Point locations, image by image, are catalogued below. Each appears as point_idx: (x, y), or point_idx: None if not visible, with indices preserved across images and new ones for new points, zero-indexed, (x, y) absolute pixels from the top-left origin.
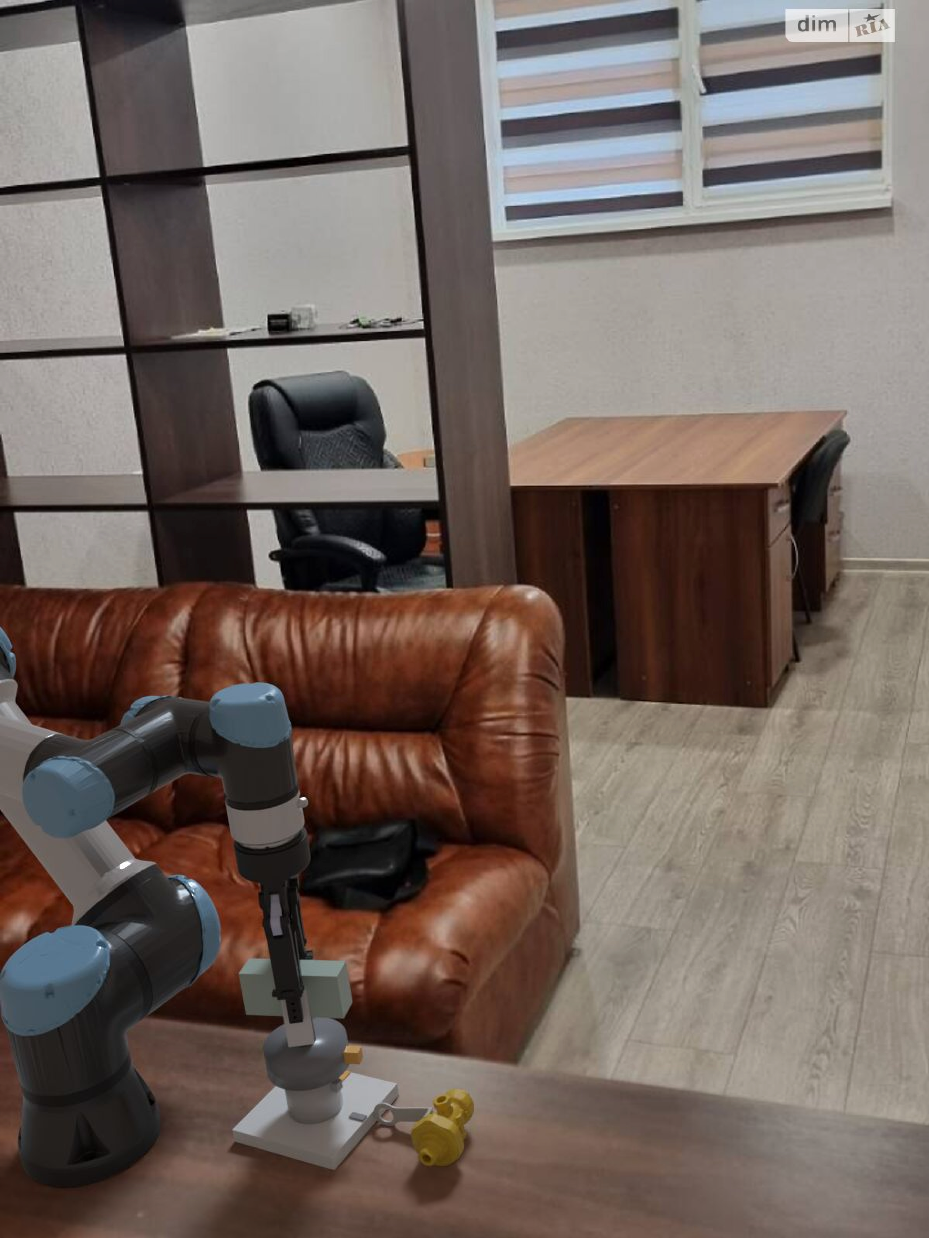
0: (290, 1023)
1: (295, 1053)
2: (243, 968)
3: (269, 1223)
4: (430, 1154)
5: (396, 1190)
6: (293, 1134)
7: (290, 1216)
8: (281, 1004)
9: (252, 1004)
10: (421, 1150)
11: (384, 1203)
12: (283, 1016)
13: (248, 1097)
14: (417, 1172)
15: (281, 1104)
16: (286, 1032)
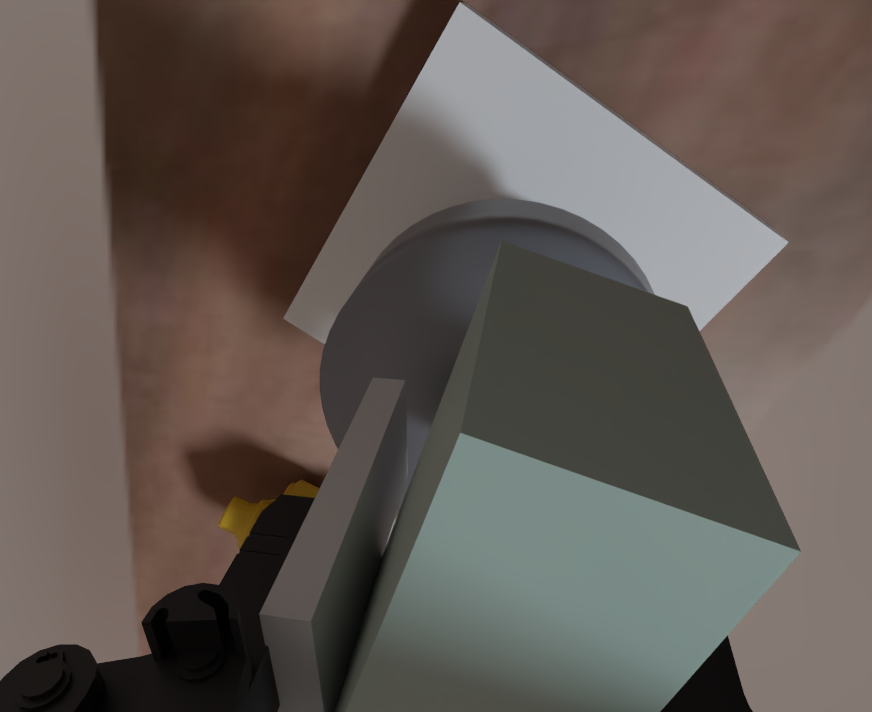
0: (282, 498)
1: (409, 371)
2: (570, 481)
3: (118, 143)
4: (221, 527)
5: (224, 419)
6: (394, 218)
7: (143, 197)
8: (294, 544)
9: (471, 330)
10: (231, 516)
11: (187, 394)
12: (322, 484)
13: (704, 33)
14: (274, 460)
15: (554, 177)
16: (353, 422)
